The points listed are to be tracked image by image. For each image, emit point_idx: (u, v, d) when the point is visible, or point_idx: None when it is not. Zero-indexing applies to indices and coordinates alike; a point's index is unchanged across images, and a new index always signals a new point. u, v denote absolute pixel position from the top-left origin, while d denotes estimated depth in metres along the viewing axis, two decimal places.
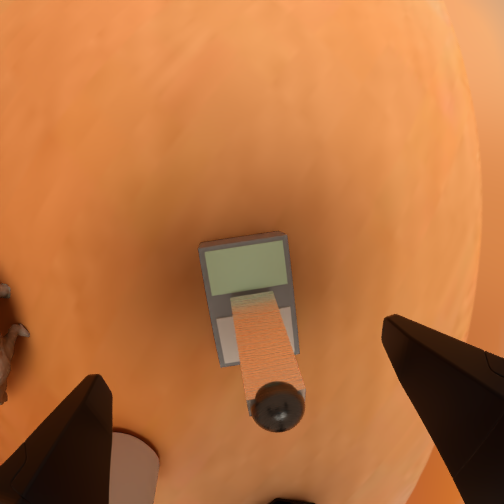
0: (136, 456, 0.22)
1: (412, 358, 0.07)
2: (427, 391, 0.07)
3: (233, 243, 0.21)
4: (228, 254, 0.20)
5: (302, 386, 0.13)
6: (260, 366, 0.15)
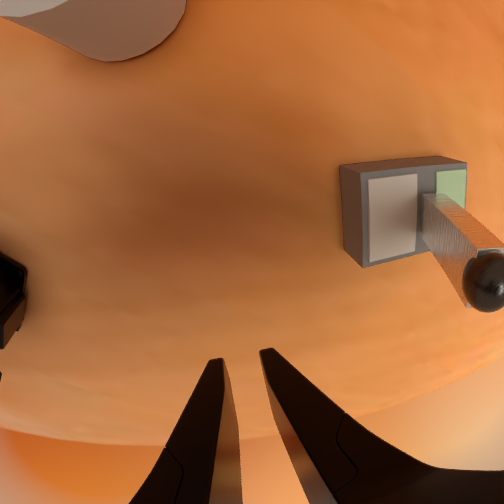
0: (166, 19, 0.11)
1: (272, 401, 0.07)
2: (287, 439, 0.06)
3: (464, 195, 0.18)
4: (462, 191, 0.17)
5: None
6: None
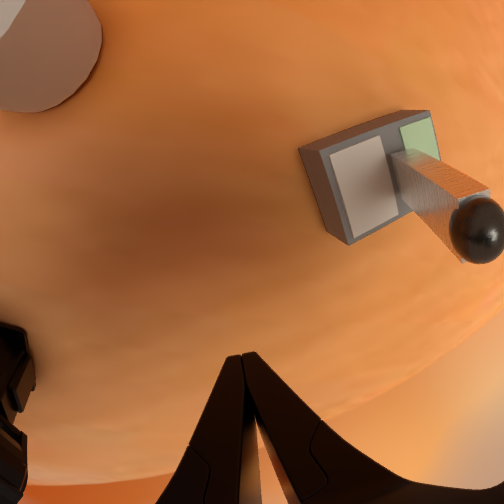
0: (83, 54, 0.11)
1: (252, 405, 0.07)
2: (266, 444, 0.06)
3: None
4: (432, 140, 0.17)
5: None
6: None
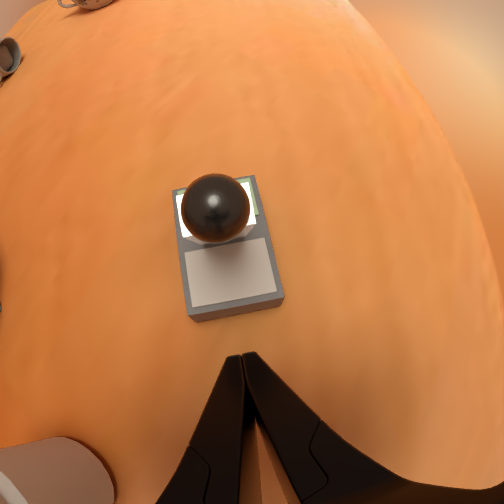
0: (76, 459, 0.14)
1: (252, 405, 0.07)
2: (266, 444, 0.06)
3: None
4: None
5: None
6: None
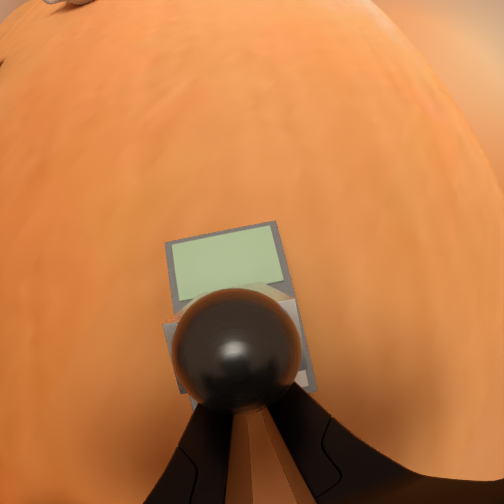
0: None
1: None
2: (275, 442, 0.06)
3: (208, 234, 0.16)
4: (201, 245, 0.16)
5: (287, 297, 0.07)
6: None
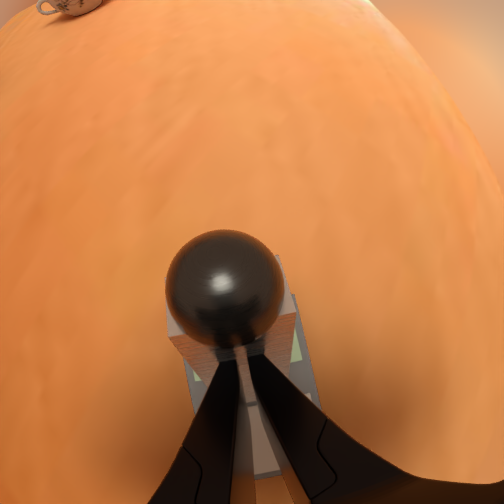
0: None
1: (258, 404, 0.07)
2: (272, 443, 0.06)
3: None
4: None
5: None
6: None
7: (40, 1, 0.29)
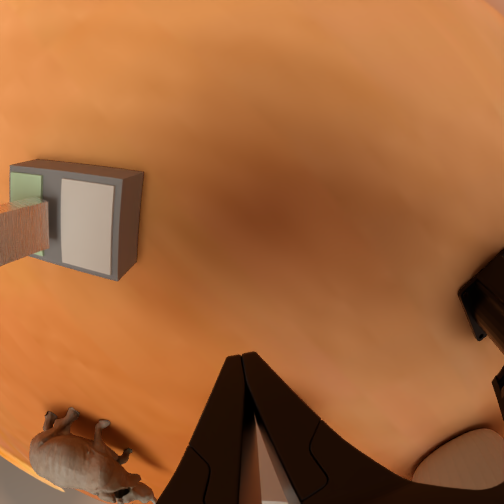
0: None
1: (252, 405, 0.07)
2: (266, 444, 0.06)
3: None
4: None
5: None
6: None
7: None
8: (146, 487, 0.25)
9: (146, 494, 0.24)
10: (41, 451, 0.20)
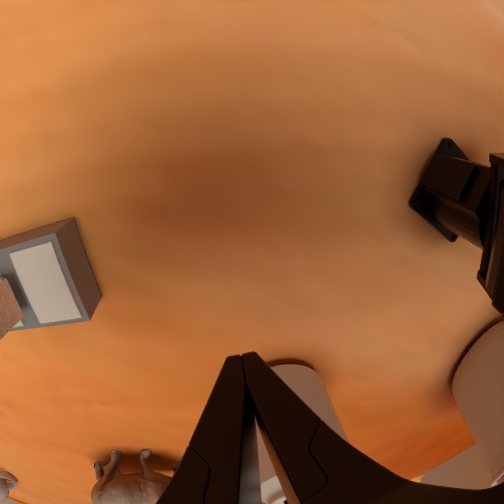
0: None
1: (252, 405, 0.07)
2: (266, 444, 0.06)
3: None
4: None
5: None
6: None
7: None
8: None
9: None
10: (102, 500, 0.21)
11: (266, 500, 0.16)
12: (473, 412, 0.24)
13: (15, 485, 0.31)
